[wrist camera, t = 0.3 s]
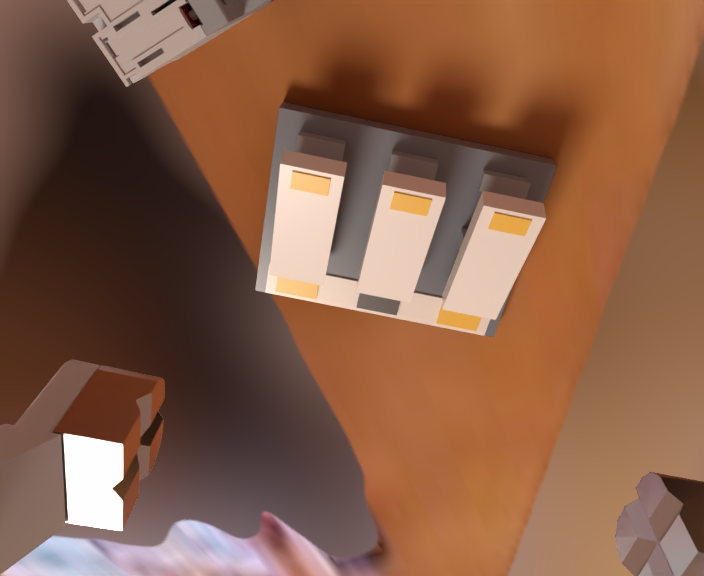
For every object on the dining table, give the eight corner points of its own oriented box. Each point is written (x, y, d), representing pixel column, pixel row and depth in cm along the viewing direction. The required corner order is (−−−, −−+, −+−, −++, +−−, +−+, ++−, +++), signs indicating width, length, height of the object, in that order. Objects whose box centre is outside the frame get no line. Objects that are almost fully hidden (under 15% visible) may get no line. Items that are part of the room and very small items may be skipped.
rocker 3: (482, 190, 49) (483, 206, 48) (543, 203, 49) (546, 219, 48) (442, 294, 58) (442, 310, 56) (494, 304, 58) (495, 321, 56)
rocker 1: (285, 149, 49) (279, 164, 47) (347, 162, 49) (344, 178, 47) (273, 260, 57) (268, 276, 56) (326, 270, 57) (323, 287, 56)
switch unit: (283, 102, 53) (273, 115, 49) (552, 158, 54) (564, 175, 50) (259, 280, 62) (249, 303, 58) (490, 326, 63) (497, 352, 59)
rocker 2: (384, 170, 49) (382, 185, 47) (446, 183, 49) (445, 198, 48) (358, 277, 57) (355, 293, 56) (411, 287, 58) (410, 304, 56)
